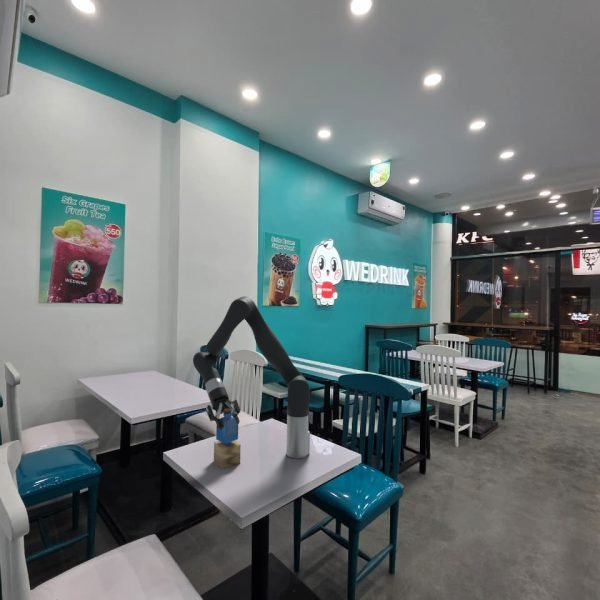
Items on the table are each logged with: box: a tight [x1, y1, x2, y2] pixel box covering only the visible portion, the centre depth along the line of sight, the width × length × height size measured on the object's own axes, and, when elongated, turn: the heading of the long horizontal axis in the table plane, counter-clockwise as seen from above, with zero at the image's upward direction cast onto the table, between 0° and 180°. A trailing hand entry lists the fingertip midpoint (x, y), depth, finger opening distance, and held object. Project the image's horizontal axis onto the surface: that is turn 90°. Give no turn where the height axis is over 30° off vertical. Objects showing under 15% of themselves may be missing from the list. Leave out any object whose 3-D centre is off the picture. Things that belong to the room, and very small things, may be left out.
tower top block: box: [213, 440, 242, 459], centre depth 136 cm, size 8×8×4 cm
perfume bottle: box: [215, 409, 239, 444], centre depth 137 cm, size 6×6×12 cm
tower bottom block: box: [213, 451, 241, 470], centre depth 137 cm, size 8×8×4 cm
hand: (229, 426), depth 136 cm, fingers closed on perfume bottle, 6 cm apart
